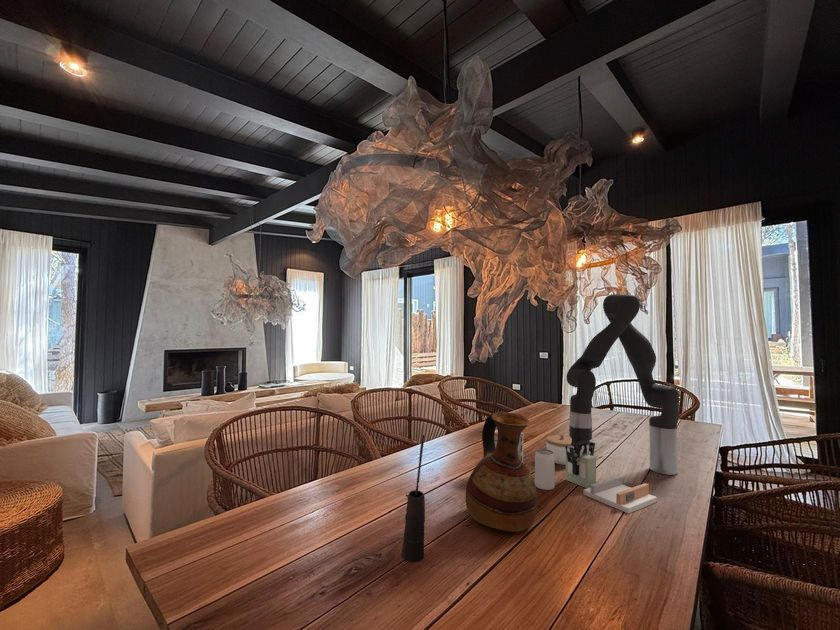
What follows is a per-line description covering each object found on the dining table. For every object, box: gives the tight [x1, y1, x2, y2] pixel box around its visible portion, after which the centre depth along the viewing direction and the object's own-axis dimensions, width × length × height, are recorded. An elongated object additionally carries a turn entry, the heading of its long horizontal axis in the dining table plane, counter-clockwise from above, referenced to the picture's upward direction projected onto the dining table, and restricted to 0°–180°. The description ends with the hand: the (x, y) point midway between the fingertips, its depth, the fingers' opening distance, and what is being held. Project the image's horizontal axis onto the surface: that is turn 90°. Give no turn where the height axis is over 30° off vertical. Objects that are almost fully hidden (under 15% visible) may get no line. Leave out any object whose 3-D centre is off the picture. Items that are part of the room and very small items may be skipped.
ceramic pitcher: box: [465, 411, 538, 533], centre depth 107 cm, size 20×20×30 cm
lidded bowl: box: [545, 433, 572, 466], centre depth 157 cm, size 13×13×11 cm
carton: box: [565, 453, 597, 489], centre depth 135 cm, size 4×9×10 cm, turn 31°
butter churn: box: [400, 434, 426, 563], centre depth 88 cm, size 9×10×28 cm
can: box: [534, 448, 556, 491], centre depth 131 cm, size 6×6×12 cm
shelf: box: [582, 475, 658, 514], centre depth 123 cm, size 16×15×4 cm
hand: (580, 473), depth 135 cm, fingers closed on carton, 4 cm apart
